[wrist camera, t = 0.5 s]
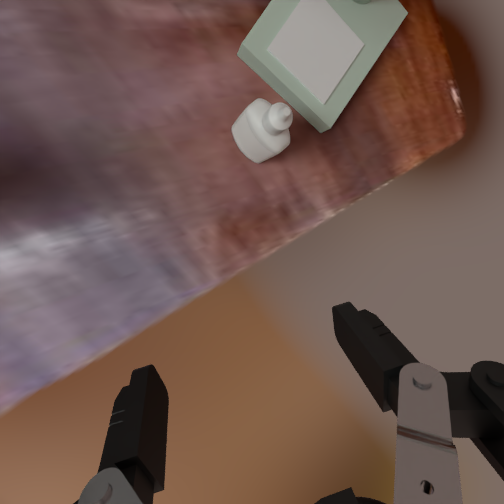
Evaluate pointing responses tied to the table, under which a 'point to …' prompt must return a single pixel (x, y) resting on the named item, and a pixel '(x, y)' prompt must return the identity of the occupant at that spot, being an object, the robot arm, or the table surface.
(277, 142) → the eye dropper bottle
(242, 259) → the table surface
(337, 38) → the arbor press
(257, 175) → the table surface
